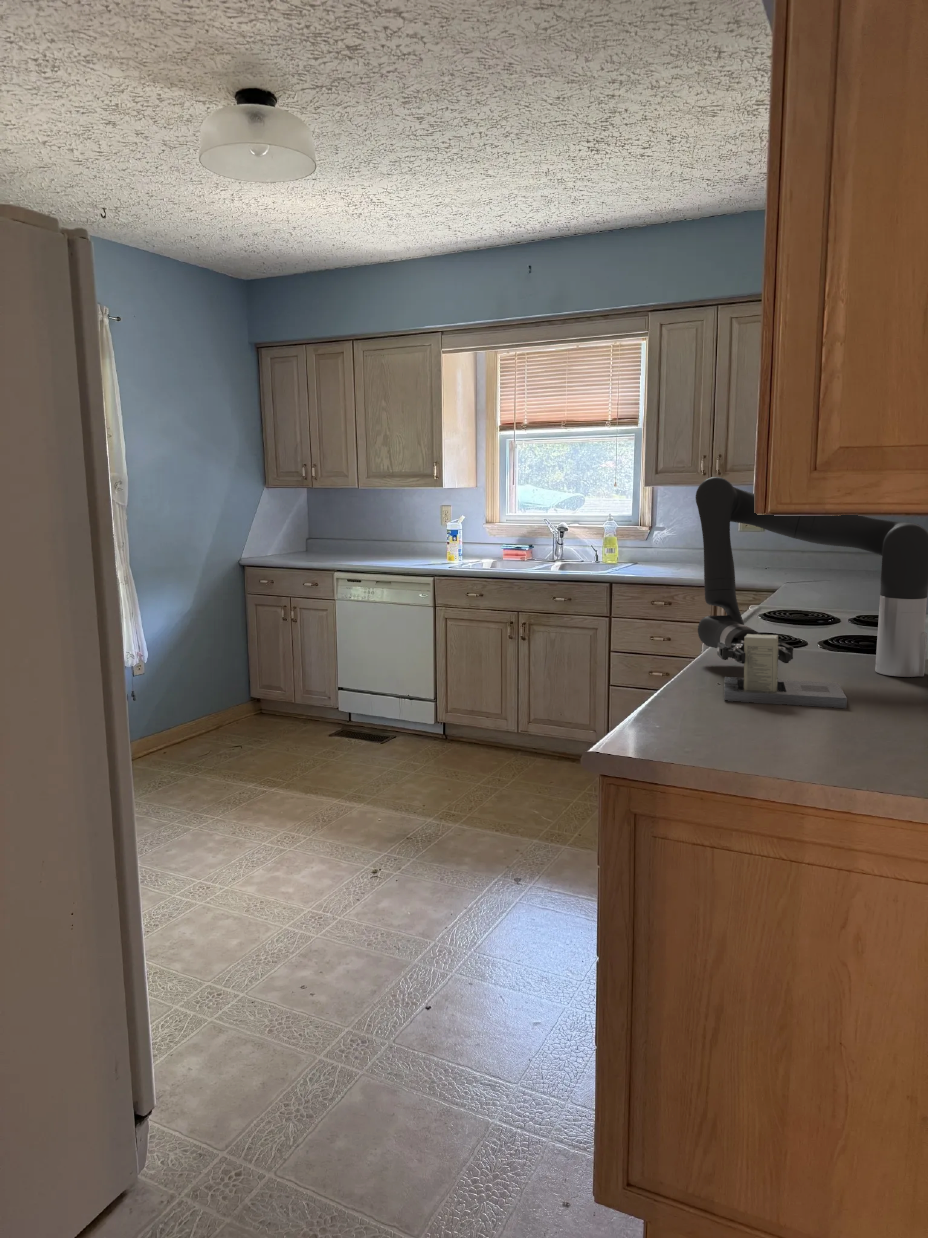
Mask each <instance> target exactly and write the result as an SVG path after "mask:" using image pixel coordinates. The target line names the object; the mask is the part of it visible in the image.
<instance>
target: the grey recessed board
mask: <svg viewBox="0 0 928 1238" xmlns="http://www.w3.org/2000/svg"><path fill="white" fill-rule="evenodd" d="M723 686H724V687H723V688H724V692H723V693H724V699H723V700H728V701H727V702H733V701H741V702H740V703H749V702H754V703H753V704H770V705H782V704H787V706H799V705H802V706H803V707H817V708H819V707H820V708H832V707H834V708H836V709H847V703H848V702H847V699H848V697H847V696H846V694H845V693H844V691H843V689H842V686H841V685H840V684H839V682H834V681H832V682H831V681H816V680H815V681H814V680H813V681H812V680H795V679H794V680H793V679H778V680H777V692H774V691H756V690H744V677H737V676H736V677H735V676H724V685H723Z"/></svg>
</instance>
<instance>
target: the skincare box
mask: <svg viewBox="0 0 928 1238" xmlns="http://www.w3.org/2000/svg"><path fill="white" fill-rule="evenodd" d="M778 643H779V635H778V634H761V635H759V634H747V635H746V636H745V637H744V652H745V663H744V664H743V678H744V689H743V690H756V691H774V692H778V691H777V680H779V679H778V678H779V677H778V676H779V675H778V671H779V664H778V663H779V660H778V656H779V655H778Z"/></svg>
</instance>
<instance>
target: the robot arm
mask: <svg viewBox="0 0 928 1238" xmlns="http://www.w3.org/2000/svg"><path fill="white" fill-rule="evenodd" d="M754 494H755V493H753V492H751V491H750V492H749V491H747V490H743V489H740V488H737V487H735V486H733V485H732V483H731V482H730V481H729V480H727V479H726V478H723V477H720V476H719V477H718V476H711V477H708V478H707V479H705V480H703V481H701V483H700V484H699V485H698V487H697V489H696V492H695V503H696V506H697V507H696V508H697V510H698V514H699V519H700V524H701V526H700V527H701V533H702V543H703V544H702V545H703V575H704V576H703V577H704V578H703V579H704V580H703V581H704V583H703V585H704V600H705V602H706V604H707V605H709V606H715V607H719V608H722V609H723V611H725V613H726V615H707V616H704V617H703V618H702V619H701V620H699V622H698V625H697V634H698V637H699V641H701V642H702V643H703V644H704V645H705V646H706V647H710V648H713V649H717V651H716V654H717V656H718V657H719V658H721V660H723V661H728V660H729V659H731V660H732V661H736V662H737V663H739V664H743V665H744V663H745V652H744V637H745V636H746V635H747V634H759V635H762V634H761V633H760V632H758V631H757V630H755V629H753V628H751V627H749V626H748V625H745V623H744V620H743V617H742V614H741V611H740V607H739V605H738V600H737V592H736V573H735V571H736V570H735V562H734V561H735V560H734V555H733V549H732V541H731V523H737V524H744V525H745V524H746V525H749V526H753V527H758V528H761V529H763V530H766V531H768V532H772V533H773V534H774V533H775V534H778V535H781V536H784V537H788V538H792V539H795V540H799V541H804V542H807V543H811V544H817V545H824V546H825V545H826V546H831V547H843V548H844V547H845V548H852V549H854V548H855V549H858V550H863V551H866V552H870V553H873V554H876V555H879V556H882V557H881V570H880V590H879V605H878V607H879V609H878V625H877V635H876V636H877V637H876V639H877V640H876V651H875V653H876V654H875V662H874V663H875V668H874V670H875V672H876V673H878V674H880V675H884V676H891V677H904V678H910V677H911V678H913V677H915V678H916V677H924V676H925V669H926V667H925V666H926V653H927V641H928V640H927V638H928V633H926V620H927V619H926V618H927V604H928V603H927V602H928V530H927V529H926V528H925V527H923V526H921V525H920V524H917V523H914V522H904V521H895V520H887V519H880V518H874V517H869V516H865V515H862V516H858V515H841V516H774V515H757V514H756V513H754ZM793 659H794V646H791V645H789V644H788V643H784V642H782V641H779V642H778V661H780V662H781V663H784V664H789V662H791V661H792V660H793Z"/></svg>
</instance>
